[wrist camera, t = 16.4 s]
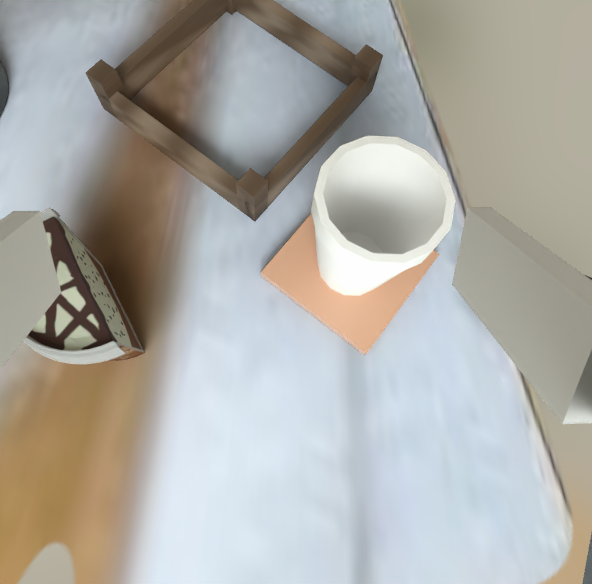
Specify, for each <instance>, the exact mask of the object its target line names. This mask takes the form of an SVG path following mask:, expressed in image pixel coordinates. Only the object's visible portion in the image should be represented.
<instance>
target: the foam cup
mask: <svg viewBox="0 0 592 584" xmlns="http://www.w3.org/2000/svg"><path fill="white" fill-rule="evenodd" d="M454 206H455V197H454V194H453V191H452V188H451V185H450V182H449V179H448V176H447V173H446V171H445V170H444V169H443V168H442V167H441V166H440V165H439V164H438V163H437V162H436V160H435V159H434V158H433V157H432V156H431V155H430V154H429V153H428V152H427V151H426V150H425V149H423V148H420V147H418V146H416V145H414V144H412V143H410V142H407V141H405V140H403V139H401V138H399V137H387V136H365V137H362V138H360V139H357V140H354V141H352V142H349V143H346V144H344V145H341V146H340V147H339V148H338V149H337V150H336V151H335V152H334V153H333V154H332V155H331V156H330V157H329V158H328V159H327V160H326V161H325V163H324V164H323V165H322V166H321V168H320V172H319V176H318V180H317V184H316V187H315V191H314V196H313V201H312V206H311V213H312V217H313V221H314V225H315V239H316V253H317V263H318V267H319V272H320V276H321V278H322V279H323V280H324V281H325V283H326V284H327V285H328V286H329V287H330V288H331V289H333V290H335V291H337V292H339V293H341V294H343V295H353V296H360V295H362V294H364V293H367V292H369V291H371V290H373V289H375V288H377V287H379V286H380V285H382V284H383V283H385V282H387V281H388V280H390V279H391V278H393V277H395V276H396V275H398V274H399V273H401V272H403V271H404V270H407V269H409V268H411V267H413V266H416V265H418V264H420V263H422V262H423V261H424V260H425V259H426V258H427V257H428V255H429V254H430V253H431V252H432V251H433V250H434V249H435V247H436V246H437V245H438V244H439V242H440V241H441V240H442V239H443V237H444V236H445V235H446V234H447V232H448V231H449V230H450V229H451V225H452V219H453V213H454Z"/></svg>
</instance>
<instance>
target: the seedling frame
mask: <svg viewBox="0 0 592 584" xmlns="http://www.w3.org/2000/svg"><path fill="white" fill-rule="evenodd" d="M226 11H227V12H228V13H230V14H231V15H232V14H234V13H235V12H236V11H238V12H239V13H241V14H242V15H244V16H245V17H247V18H248V19H250V20H251V21H253V22H254V23H256V24H257V25H258V26H260V27H261V28H263V29H264V30H266V31H267V32H269V33H270V34H272V35H273V36H275V37H276V38H278V39H279V40H281V41H282V42H284V43H285V44H287V45H288V46H290V47H291V48H292V49H294V50H295V51H297V52H298V53H300V54H301V55H303V56H304V57H306V58H307V59H309V60H310V61H312V62H313V63H315V64H316V65H318V66H319V67H321V68H322V69H324V70H325V71H326V72H328V73H329V74H331V75H332V76H334V77H335V78H337V79H338V80H340V81H341V82H343V83H344V84H346V85H347V86H348V87H347V88H346V89H345V90H344V91H343V93H342V94H341V95H340V96H339V97H338V98H337V99H336V100H335V101H334V102H333V103H332V105H331V106H330V107H329V108H328V109H327V110H326V111H325V112H324V113H323V114H322V115H321V116H320V118H319V119H318V120H317V121H316V122H315V123H314V124H313V125H312V126H311V127H310V128H309V130H308V131H307V132H306V133H305V134H304V135H303V136H302V137H301V138H300V139H299V140H298V142H297V143H296V144H295V145H294V146H293V147H292V148H291V149H290V150H289V151H288V152H287V153H286V155H285V156H284V157H283V158H282V159H281V160H280V161H279V162H278V163H277V164H276V165H275V167H274V168H273V169H272V170H271V171H270V172H269V173H268V174H267V175H266V176H265V177H264V178H263V177H262V176H260V175H259V174H258V173H256V172H255V171H254V170H252V169H251V168H250V169H249V170H248V171H247V172H246V173H245V174H244V175H243V177H242V178H241V179H240V180H237V179H236V178H234V177H233V176H232V175H230V174H229V173H228V172H226V171H225V170H224V169H222V168H221V167H220V166H218V165H217V164H215V163H214V162H213V161H211V160H210V159H209V158H207V157H206V156H205V155H203V154H202V153H201V152H199V151H198V150H196V149H195V148H194V147H192V146H191V145H190V144H188V143H187V142H186V141H184V140H183V139H182V138H180V137H179V136H177V135H176V134H175V133H173V132H172V131H171V130H169V129H168V128H167V127H165V126H164V125H163V124H161V123H160V122H158V121H157V120H156V119H154V118H153V117H152V116H150V115H149V114H148V113H146V112H145V111H144V110H142V109H141V108H139V107H138V106H137V105H135V104H134V103H133V102H131V101H130V100H129V99H131V98H132V97H133V96H134V95H135V94H136V93H137V92H138V91H139V90H140V89H142V88H143V87H144V86H145V85H146V84H147V83H148V82H149V81H150V80H151V79H153V78H154V77H155V76H156V75H157V74H158V73H159V72H160V71H161V70H162V69H164V68H165V67H166V66H167V65H168V64H169V63H170V62H171V61H172V60H173V59H175V58H176V57H177V56H178V55H179V54H180V53H181V52H182V51H183V50H184V49H186V48H187V47H188V46H189V45H190V44H191V43H192V42H193V41H194V40H195V39H197V38H198V37H199V36H200V35H201V34H202V33H203V32H204V31H205V30H206V29H208V28H209V27H210V26H211V25H212V24H213V23H214V22H215V21H216V20H217V19H219V18H220V17H221V16H222V15H223V14H224V13H225V12H226ZM382 57H383V55H382V54H380V53H379V52H377V51H376V50H374V49H373V48H371V47H370V46H368V45H367V44H366V45H365V46H364V48H363V49H362V50H361V51H360V52H359V53H358V54H357V55H354V54H353V53H351V52H350V51H348V50H347V49H345V48H344V47H342V46H341V45H339V44H338V43H336V42H335V41H333V40H332V39H330V38H329V37H327V36H326V35H324V34H323V33H321V32H320V31H318V30H317V29H315V28H314V27H312V26H311V25H309V24H308V23H306V22H305V21H303V20H302V19H300V18H299V17H297V16H296V15H294V14H293V13H291V12H290V11H288V10H287V9H285V8H284V7H282V6H281V5H279V4H278V3H276V2H275V1H273V0H193V1H192V2H191V3H190V4H189V5H188V6H186V7H185V8H184V9H183V10H182V11H181V12H180V13H178V14H177V15H176V16H175V17H174V18H173V19H172V20H170V21H169V22H168V23H167V24H166V25H165V26H164V27H162V28H161V29H160V30H159V31H158V32H157V33H156V34H154V35H153V36H152V37H151V38H150V39H149V40H148V41H146V42H145V43H144V44H143V45H142V46H141V47H140V48H138V49H137V50H136V51H135V52H134V53H133V54H132V55H130V56H129V57H128V58H127V59H126V60H125V61H124V62H122V63H121V64H120V65H119V66H118V67H117V68H116V69H114V68H112V67H111V66H110V65H108V64H107V63H105V62H104V61H103V60H100V61H99V62H97V63H96V64H95V65H94V66H93V67H92V68H90V69H89V70H88V71H87V72H86V75H87V77H88V78H89V80H90V82H91V84H92V86H93V88H94V90H95V92H96V94H97V96H98V98H99V100H100V102H101V104H102V106H103V108H104V109H105V110H107V111H108V112H109V113H111V114H112V115H113V116H115V117H116V118H117V119H119V120H120V121H121V122H123V123H124V124H125V125H127V126H128V127H129V128H131V129H132V130H133V131H135V132H136V133H137V134H139V135H140V136H141V137H143V138H144V139H145V140H147V141H148V142H149V143H151V144H152V145H153V146H155V147H156V148H157V149H159V150H160V151H161V152H163V153H164V154H165V155H167V156H168V157H169V158H171V159H172V160H173V161H175V162H176V163H178V164H179V165H180V166H182V167H183V168H184V169H186V170H187V171H188V172H190V173H191V174H192V175H194V176H195V177H196V178H198V179H199V180H200V181H202V182H203V183H204V184H206V185H207V186H208V187H210V188H211V189H212V190H214V191H215V192H216V193H218V194H219V195H220V196H222V197H223V198H224V199H226V200H227V201H228V202H230V203H231V204H232V205H234V206H235V207H236V208H238V209H239V210H240V211H242V212H243V213H244V214H246V215H247V216H248V217H250V218H251V219H252V220H254V221H256V220H257V219H258V218H259V216H260V215H261V214H262V213H263V212H264V211H265V210H266V209H267V207H268V206H269V205H270V204H271V203H272V202H273V201H274V200H275V199H276V197H277V196H278V195H279V194H280V193H281V192H282V191H283V190H284V188H285V187H286V186H287V185H288V184H289V183H290V182H291V181H292V180H293V178H294V177H295V176H296V175H297V174H298V173H299V172H300V171H301V169H302V168H303V167H304V166H305V165H306V164H307V163H308V162H309V161H310V159H311V158H312V157H313V156H314V155H315V154H316V153H317V152H318V150H319V149H320V148H321V147H322V146H323V145H324V144H325V143H326V142H327V140H328V139H329V138H330V137H331V136H332V135H333V134H334V133H335V131H336V130H337V129H338V128H339V127H340V126H341V125H342V124H343V123H344V121H345V120H346V119H347V118H348V117H349V116H350V115H351V114H352V112H353V111H354V110H355V109H356V108H357V107H358V106H359V105H360V104H361V102H362V101H363V100H364V99H365V98H366V97H367V96H368V95H369V93H370V92H371V91H372V89H373V86H374V82H375V79H376V76H377V73H378V69H379V66H380V63H381V60H382Z"/></svg>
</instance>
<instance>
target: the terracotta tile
mask: <svg viewBox="0 0 592 584" xmlns="http://www.w3.org/2000/svg"><path fill="white" fill-rule="evenodd" d="M438 255H439V254H438V253H437V252H435V251H434V250H433V251H432V252H431V253H430V254H429V255H428V257H427V258H426V259H425V260H424V261H423V262H422V263H420V264H418V265H416V266H413V267H411V268H409V269H407V270H404V271H403V272H401V273H399V274H398V275H396V276H395V277H393V278H391V279H390V280H388V281H387V282H385V283H383V284H382V285H380V286H379V287H377V288H375V289H373V290H371V291H369V292H367V293H364V294H362V295H360V296H353V295H343V294H341V293H339V292H337V291H335V290H333V289H331V288H330V287H329V286H328V285H327V284H326V283H325V281H324V280H323V279H322V278H321V276H320V272H319V267H318V263H317V253H316V239H315V225H314V221H313V217H312V213H311V214H310V215H309V217H308V218H307V219H306V220H305V221H304V222H303V224H302V225H301V226H300V227H299V228H298V229H297V231H296V232H295V233H294V234H293V235H292V236H291V238H290V239H289V240H288V241H287V242H286V243H285V245H284V246H283V247H282V248H281V249H280V250H279V252H278V253H277V254H276V255H275V256H274V257H273V259H272V260H271V261H270V262H269V263H268V264H267V266H266V267H265V268H264V269H263V270H262V272H261V277H263V278H264V279H265V280H267V281H268V282H269V283H271V284H272V285H273V286H275V287H276V288H277V289H278V290H280V291H281V292H282V293H284V294H285V295H286V296H288V297H289V298H290V299H292V300H293V301H294V302H295V303H297V304H298V305H299V306H301V307H302V308H303V309H305V310H306V311H307V312H308V313H310V314H311V315H312V316H314V317H315V318H316V319H318V320H319V321H320V322H322V323H323V324H324V325H325V326H327V327H328V328H329V329H331V330H332V331H333V332H335V333H336V334H337V335H339V336H340V337H341V338H342V339H344V340H345V341H346V342H348V343H349V344H350V345H352V346H353V347H354V348H356V349H357V350H358V351H359V352H361V353H362V354H363V355H365V354H366V353H367V352H368V351H369V350H370V348H371V347H372V346H373V344H374V343H375V341H376V340H377V339H378V337H379V336H380V335H381V333H382V332H383V331H384V329H385V328H386V326H387V325H388V324H389V322H390V321H391V320H392V318H393V317H394V315H395V314H396V313H397V311H398V310H399V309H400V307H401V306H402V305H403V303H404V302H405V300H406V299H407V298H408V296H409V295H410V294H411V292H412V291H413V289H414V288H415V287H416V285H417V284H418V283H419V281H420V280H421V279H422V277H423V276H424V274H425V273H426V272H427V270H428V269H429V268H430V266H431V265H432V263H433V262H434V261H435V259H436V258H437V257H438Z"/></svg>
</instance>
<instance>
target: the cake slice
mask: <svg viewBox="0 0 592 584" xmlns="http://www.w3.org/2000/svg"><path fill="white" fill-rule="evenodd" d="M59 216H60V215H59V214H58V213H57V212H56V211H54V210H53V209H51V208H48V209H46V210H45V211H43V212H41V217H42V221H43V225H44V228H45V232H46V236H47V240H48V244H49V247H50V251H51V255H52V259H53V263H54V267H55V270H56V274H57V278H58V282H59V286H60V290H61V293H60V294H59V296H58V297H57V298H56V299H55V301H54V302H53V303H52V305H51V306H50V307H49V308H48V310H47V311H46V312H45V314H44V315H43V316H42V317H41V319H40V320H39V321H38V322H37V324H36V325H35V326H34V328H33V329H32V330H31V331H30V333H29V334H28V335H27V337H26V338H25V339H24V340H23V342H24V343H26V344H27V345H28V346H29V347H30V348H32V349H33V350H34V351H36V352H38V353H39V354H41V355H43V356H45V357H47V358H50V359H53V360H55V361H59V362H64V363H69V364H92V363H100V362H103V361H107V360H125V359H130V358H133V357H137V356H139V355H141V354H143V353H145V352H144V350H143V348H142V346H141V344H140V342H139V340H138V338H137V336H136V334H135V331H134V329H133V327H132V325H131V323H130V321H129V319H128V317H127V315H126V313H125V311H124V309H123V307H122V305H121V303H120V301H119V299H118V297H117V294H116V292H115V290H114V288H113V286H112V284H111V282H110V280H109V278H108V276H107V274H106V272H105V270H104V268H103V266H102V264H101V263H100V262H99V261H98V260H97V259H96V258H95V257H94V256H93V254H92V253H91V252H90V251H89V250H88V249H87V248H86V247H85V246H84V244H83V243H82V242H81V241H80V240H79V239H78V238H77V237H76V236H75V235H74V233H73V232H72V231H71V230H70V229H69V228H68V227H67V226H66V225H65V223H64V222H63V221H62V220H61V219H60V218H59Z"/></svg>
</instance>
